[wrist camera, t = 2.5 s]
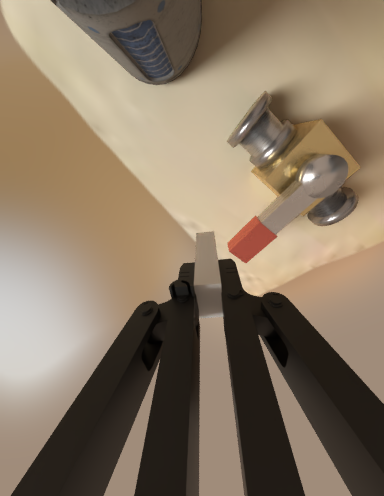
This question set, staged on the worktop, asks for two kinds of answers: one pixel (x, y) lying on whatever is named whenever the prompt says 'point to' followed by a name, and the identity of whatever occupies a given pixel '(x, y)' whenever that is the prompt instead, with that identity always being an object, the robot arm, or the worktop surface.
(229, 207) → the worktop surface
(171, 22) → the beverage bottle
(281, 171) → the valve pipe
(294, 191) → the lever
